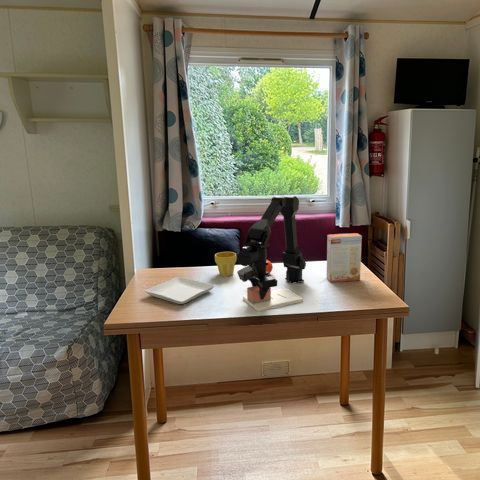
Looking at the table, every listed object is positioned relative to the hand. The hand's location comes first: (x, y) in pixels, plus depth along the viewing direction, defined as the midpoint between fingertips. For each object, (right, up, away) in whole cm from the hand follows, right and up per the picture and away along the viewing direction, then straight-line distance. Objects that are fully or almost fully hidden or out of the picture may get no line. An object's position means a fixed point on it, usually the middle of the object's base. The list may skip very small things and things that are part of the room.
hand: (259, 297), depth 156 cm
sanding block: (0, -1, 0) cm, 1 cm away
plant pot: (-14, +6, +36) cm, 39 cm away
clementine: (+4, +6, +34) cm, 35 cm away
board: (+5, -2, +3) cm, 6 cm away
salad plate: (-32, -1, +12) cm, 34 cm away
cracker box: (+39, +4, +25) cm, 47 cm away
